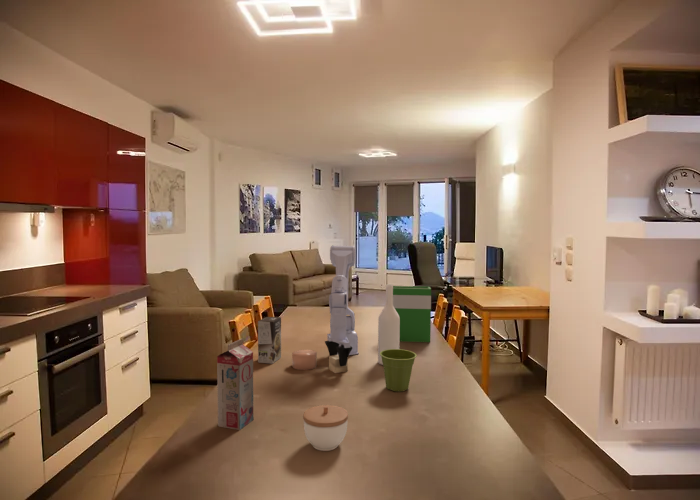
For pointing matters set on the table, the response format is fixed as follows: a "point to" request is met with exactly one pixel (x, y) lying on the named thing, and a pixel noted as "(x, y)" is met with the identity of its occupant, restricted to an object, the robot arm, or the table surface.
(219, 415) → the juice carton
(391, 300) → the bottle
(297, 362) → the salmon pink cylinder
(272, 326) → the coffee box
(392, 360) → the plant pot
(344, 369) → the maple cube
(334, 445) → the lidded jar
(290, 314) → the table surface
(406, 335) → the hardback book
